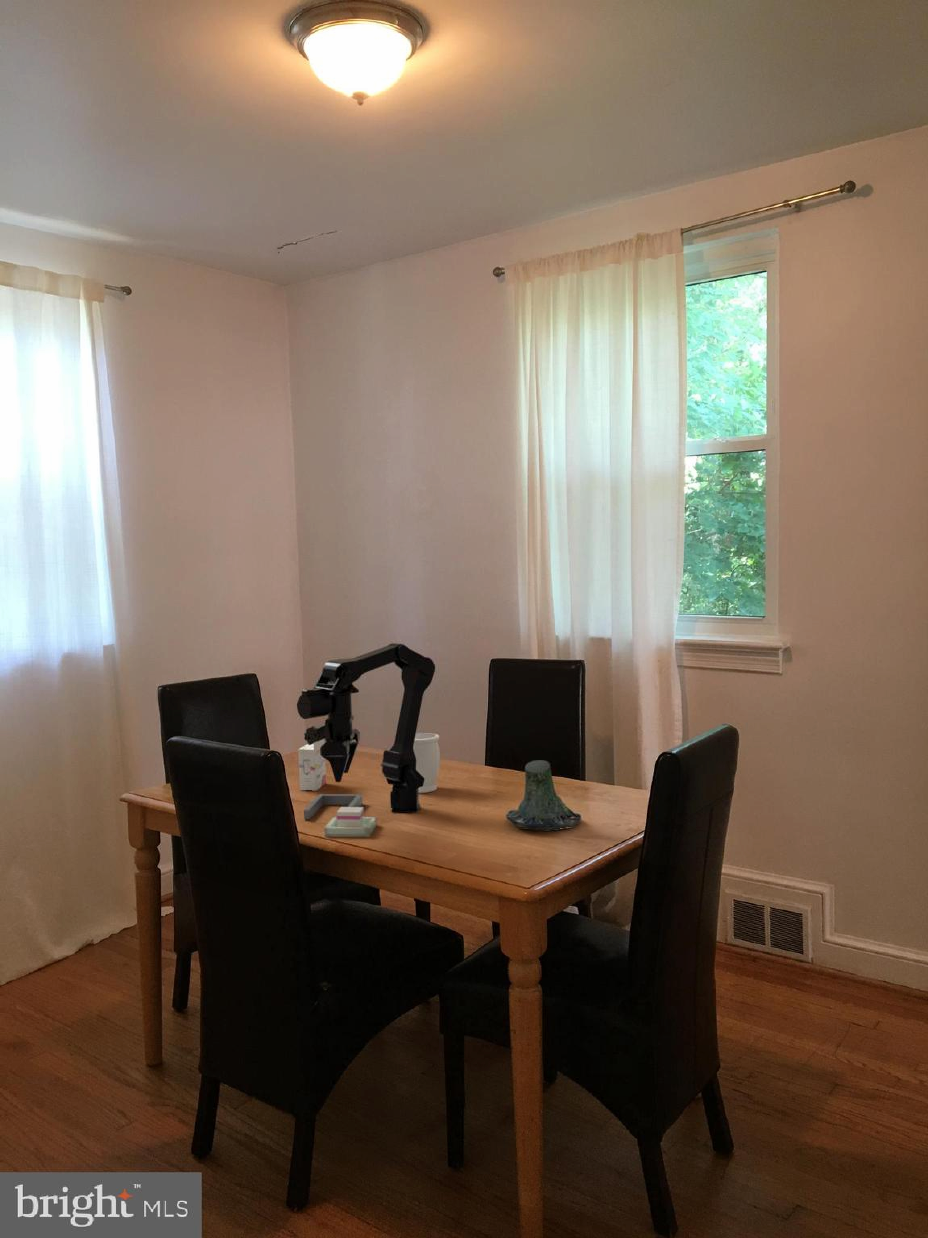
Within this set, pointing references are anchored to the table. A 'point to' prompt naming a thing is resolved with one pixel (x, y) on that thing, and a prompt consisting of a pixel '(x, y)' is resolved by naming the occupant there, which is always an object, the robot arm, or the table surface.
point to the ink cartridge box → (312, 767)
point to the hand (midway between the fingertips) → (342, 777)
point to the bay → (331, 802)
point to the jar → (427, 759)
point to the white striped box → (350, 817)
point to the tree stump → (541, 802)
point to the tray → (350, 829)
